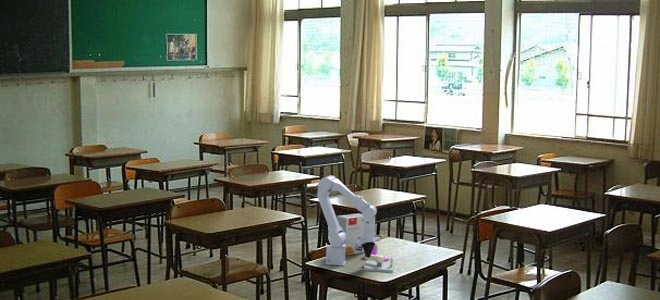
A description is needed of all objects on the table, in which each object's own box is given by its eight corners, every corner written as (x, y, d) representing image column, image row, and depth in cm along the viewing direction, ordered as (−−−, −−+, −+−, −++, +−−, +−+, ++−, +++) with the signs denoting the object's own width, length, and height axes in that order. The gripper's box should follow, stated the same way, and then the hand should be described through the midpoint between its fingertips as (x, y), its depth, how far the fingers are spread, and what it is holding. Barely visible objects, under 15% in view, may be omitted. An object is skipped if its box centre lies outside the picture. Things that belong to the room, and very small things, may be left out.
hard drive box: (343, 256, 419) (345, 218, 416) (334, 253, 425) (335, 215, 422) (366, 252, 428) (368, 215, 426) (356, 249, 434) (358, 212, 432)
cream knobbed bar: (385, 261, 400) (385, 256, 399) (380, 263, 397) (380, 257, 396) (368, 258, 406) (368, 252, 405) (363, 259, 403) (364, 254, 402)
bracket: (364, 256, 420) (365, 243, 419) (371, 255, 424) (372, 242, 423) (384, 262, 411) (384, 248, 410) (391, 260, 415) (391, 246, 415)
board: (363, 270, 394) (364, 259, 393) (366, 262, 408) (366, 252, 407) (392, 272, 392) (393, 261, 391) (394, 265, 406) (394, 254, 405)
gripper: (364, 233, 389) (363, 261, 391) (385, 229, 399) (383, 256, 401) (353, 230, 394) (352, 258, 396) (374, 227, 404) (373, 253, 406)
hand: (367, 257), depth 399 cm, fingers closed
